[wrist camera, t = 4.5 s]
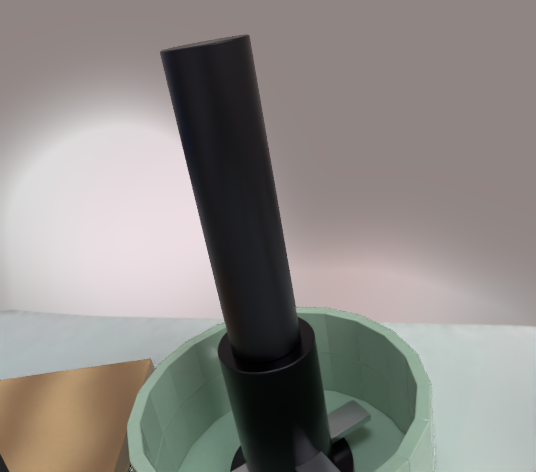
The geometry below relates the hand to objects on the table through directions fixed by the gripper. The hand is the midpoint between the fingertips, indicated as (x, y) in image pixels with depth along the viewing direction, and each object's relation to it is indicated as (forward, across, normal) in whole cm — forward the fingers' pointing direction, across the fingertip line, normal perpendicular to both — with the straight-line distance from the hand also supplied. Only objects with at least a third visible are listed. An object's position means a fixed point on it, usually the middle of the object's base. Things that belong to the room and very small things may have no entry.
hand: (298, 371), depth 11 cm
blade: (+9, 0, -13) cm, 16 cm away
